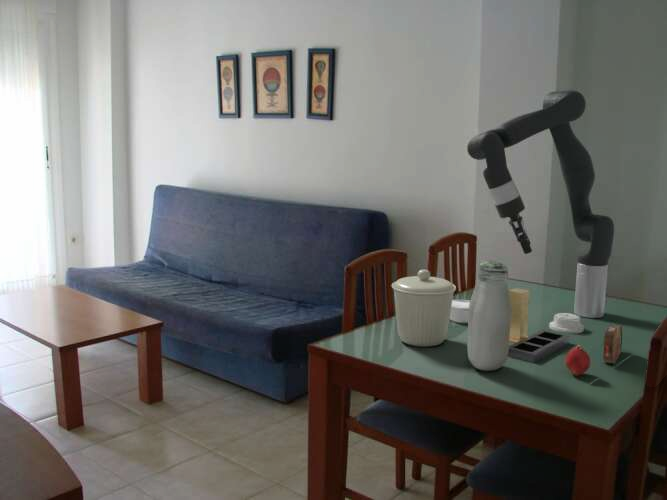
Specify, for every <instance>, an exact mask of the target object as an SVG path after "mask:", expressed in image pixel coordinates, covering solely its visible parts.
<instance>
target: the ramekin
mask: <svg viewBox="0 0 667 500" xmlns="http://www.w3.org/2000/svg"><path fill="white" fill-rule="evenodd" d="M470 300H471V299H470ZM470 300H468V299H452V305H451V312H450V318H449V321H451V322H454V323H458V324H468V314H469V304H470Z"/></svg>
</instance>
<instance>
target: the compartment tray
mask: <svg viewBox="0 0 667 500" xmlns="http://www.w3.org/2000/svg"><path fill="white" fill-rule="evenodd" d="M569 344H570V335H568V334H563V333H559V332H554V331H549V330H546V329H541V330H540V331H538V332H535V333H533V334H530V335H529V337H527V338H525V339H523V340H521V341H519V342H515V343H513V344H511V345H510V344H509V350H508V356H507V357H509V358H514V359H518V360H520V361H524V362H529V363H532V364H534V363H536V362H537V361H540V360H541V359H543V358H546V357H547V356H548V355H551V354H553V353H554V352H556V351H558V350H560V349H561V348H563V347H565V346H567V345H569Z"/></svg>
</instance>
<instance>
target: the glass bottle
mask: <svg viewBox="0 0 667 500" xmlns="http://www.w3.org/2000/svg"><path fill="white" fill-rule="evenodd" d="M476 277H477V278H476V281H475V286H474V289H473V292H472V295H471V297H470V304H469V314H468V323H467V357H468V360H469V362H470V363H471V365H472V366H473V367H474V368H475V369H478V370H480V371H484V372H489V371H490V372H491V371H496V370H498V369H500V368H502V367H503V366H504V364H505V363H506V361H507V359H508V357H509V356H508V350H509V346H510V340H509V335H510V326H511V304H510V298H509V293H508V291H509V290H508V287H509V286H508V280H509V279H508V277H509V271H508V268H507V265H506V264H505V263H504V262H502V261H501V260H485V261H483V262H482V263H480V264H479V265H478V268H477V272H476Z"/></svg>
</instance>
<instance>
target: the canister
mask: <svg viewBox="0 0 667 500" xmlns="http://www.w3.org/2000/svg"><path fill="white" fill-rule="evenodd" d="M391 288H392V290H393V293H394V294H393V295H394V296H393V297H394V307H395V317H396V326H397V334H398V337H399V339H400V340H401V341H402V342H404V343H405V344H407V345H409V346H410V345H411V346H412V347H413V346H414V347H423V348H424V347H427V348H428V347H435V346H437V345H441V344H442V343H444V341H445V339H446V337H447V333H448V329H449V324H450V319H449V318H450V312H451V305H452V300H454V299H453V297H454V292H455V291H456V290H457V287H456V285H455V284H454V283H452V282H450V281H449V280H447V279H445V278H441V277H436V276H431V272H430V271H429V270H428V269H420V270H419V271H417V275H413V276H405V277H401V278H399V279H397V281H394V282H392V284H391Z"/></svg>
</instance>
